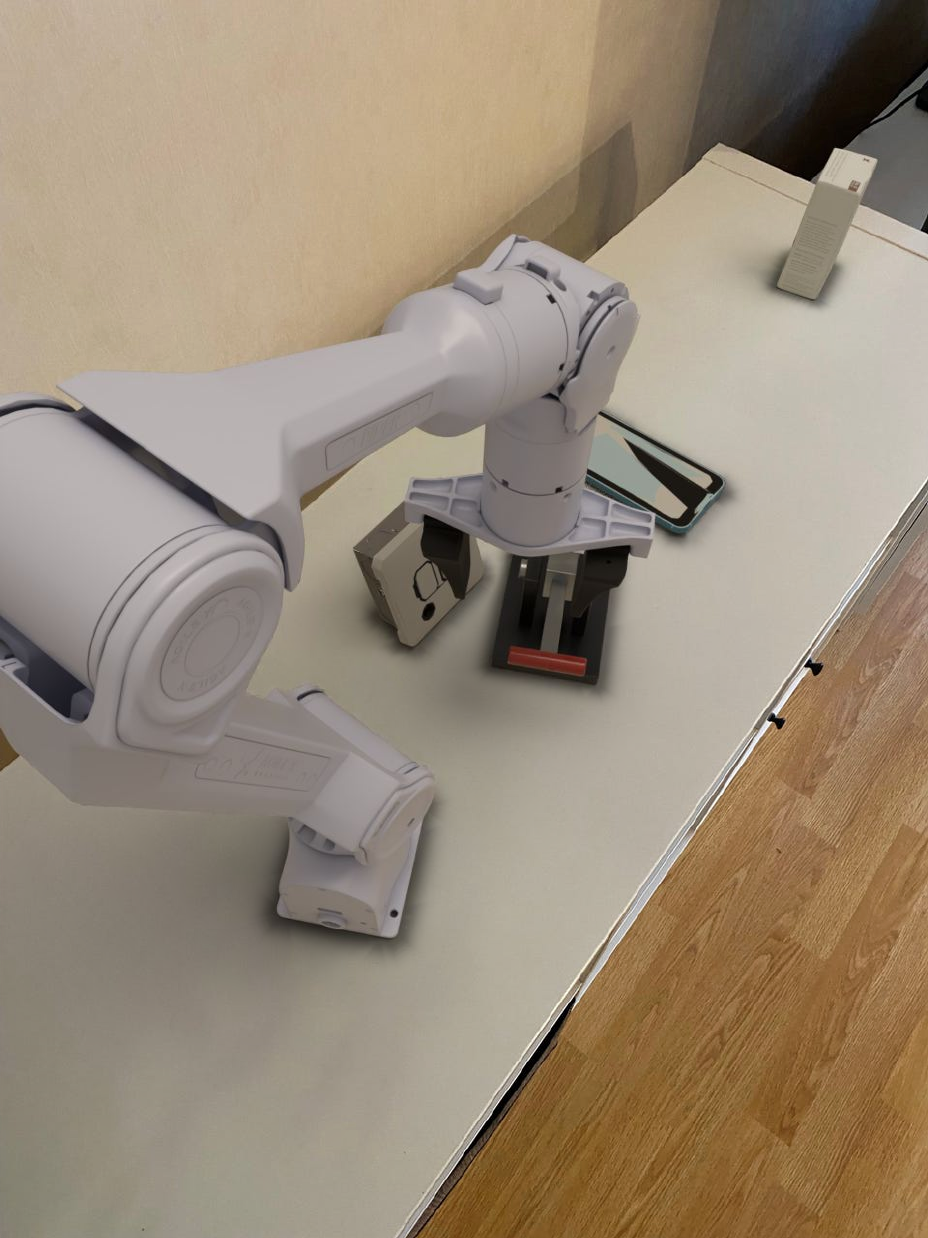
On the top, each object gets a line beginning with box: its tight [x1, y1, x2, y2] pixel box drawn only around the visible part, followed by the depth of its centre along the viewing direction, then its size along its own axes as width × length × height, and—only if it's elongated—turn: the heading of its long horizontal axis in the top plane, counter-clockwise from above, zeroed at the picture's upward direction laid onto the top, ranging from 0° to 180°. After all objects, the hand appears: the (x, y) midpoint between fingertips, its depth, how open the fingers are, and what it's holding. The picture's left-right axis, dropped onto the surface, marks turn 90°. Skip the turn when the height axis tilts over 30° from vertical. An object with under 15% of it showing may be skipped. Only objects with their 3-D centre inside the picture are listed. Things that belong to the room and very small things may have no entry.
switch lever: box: [508, 552, 587, 676], centre depth 67 cm, size 12×5×2 cm, turn 169°
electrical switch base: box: [490, 552, 611, 686], centre depth 72 cm, size 11×8×7 cm
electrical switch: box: [352, 499, 485, 647], centre depth 72 cm, size 9×5×9 cm, turn 141°
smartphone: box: [585, 409, 726, 534], centre depth 83 cm, size 7×1×15 cm
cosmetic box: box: [776, 147, 878, 300], centre depth 92 cm, size 6×4×12 cm
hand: (519, 595), depth 64 cm, fingers open, 7 cm apart
